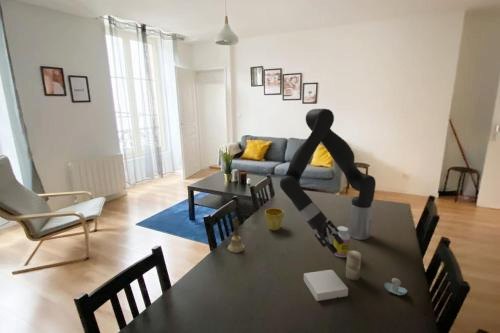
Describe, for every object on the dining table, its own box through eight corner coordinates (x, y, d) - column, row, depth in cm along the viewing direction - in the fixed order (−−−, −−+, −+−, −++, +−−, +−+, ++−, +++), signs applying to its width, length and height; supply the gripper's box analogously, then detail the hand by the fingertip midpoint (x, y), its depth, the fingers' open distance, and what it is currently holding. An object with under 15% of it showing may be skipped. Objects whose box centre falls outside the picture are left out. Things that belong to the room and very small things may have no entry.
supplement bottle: (340, 259, 124) (342, 233, 121) (330, 252, 130) (331, 227, 127) (351, 255, 127) (353, 229, 124) (340, 249, 133) (342, 224, 130)
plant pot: (262, 230, 153) (262, 213, 150) (268, 222, 162) (268, 206, 160) (280, 233, 149) (280, 216, 146) (285, 225, 158) (285, 209, 156)
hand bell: (234, 242, 140) (234, 212, 136) (248, 247, 135) (248, 216, 132) (224, 249, 133) (223, 218, 130) (237, 254, 129) (237, 222, 125)
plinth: (331, 276, 113) (332, 269, 112) (347, 295, 101) (348, 288, 100) (303, 280, 110) (303, 273, 109) (316, 301, 99) (317, 293, 98)
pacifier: (386, 283, 108) (382, 291, 103) (388, 269, 107) (384, 276, 102) (407, 291, 104) (404, 300, 99) (410, 276, 102) (407, 284, 98)
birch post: (354, 271, 115) (356, 249, 113) (361, 279, 110) (364, 256, 108) (343, 273, 114) (344, 251, 112) (349, 281, 109) (351, 258, 107)
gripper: (313, 216, 108) (341, 251, 105) (325, 205, 120) (350, 236, 117) (300, 226, 113) (326, 260, 109) (313, 214, 124) (337, 244, 121)
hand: (339, 248), depth 113 cm, fingers open, 8 cm apart
